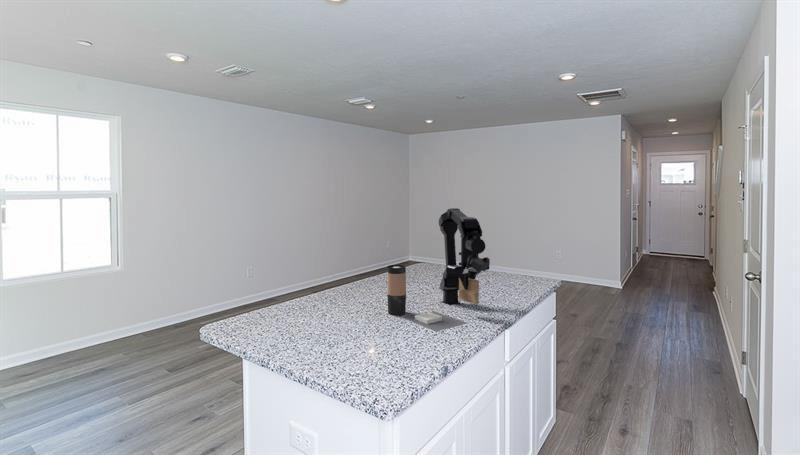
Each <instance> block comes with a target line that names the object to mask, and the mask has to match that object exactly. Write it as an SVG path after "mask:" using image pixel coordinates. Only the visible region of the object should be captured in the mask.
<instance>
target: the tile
mask: <svg viewBox="0 0 800 455" xmlns="http://www.w3.org/2000/svg"><path fill="white" fill-rule="evenodd" d="M427 312H428V313H427ZM427 312H424V314H423V313H419V315H418V314H415V320H418V321H420V322H423V323H426V324H429V323H434V322H438V321H442V316H439V315H436V314H433V313H430V312H431V311H427Z"/></svg>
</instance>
